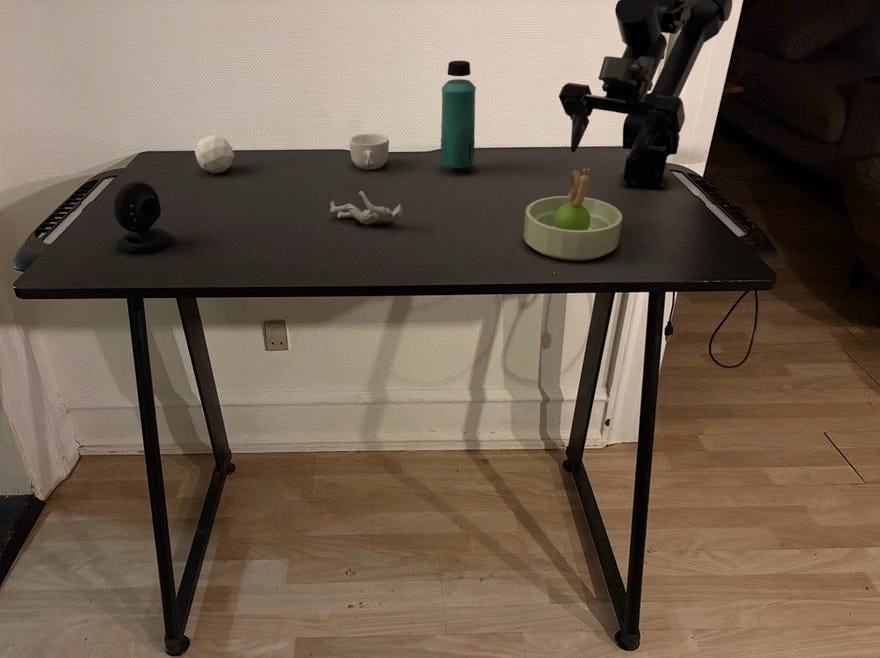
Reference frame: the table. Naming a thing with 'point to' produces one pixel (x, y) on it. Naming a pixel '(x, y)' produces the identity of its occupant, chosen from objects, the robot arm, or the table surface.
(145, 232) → the webcam
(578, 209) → the snail figurine
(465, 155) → the beverage bottle
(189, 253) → the table surface
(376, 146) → the teacup
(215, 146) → the ornament
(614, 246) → the basin
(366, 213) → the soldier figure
